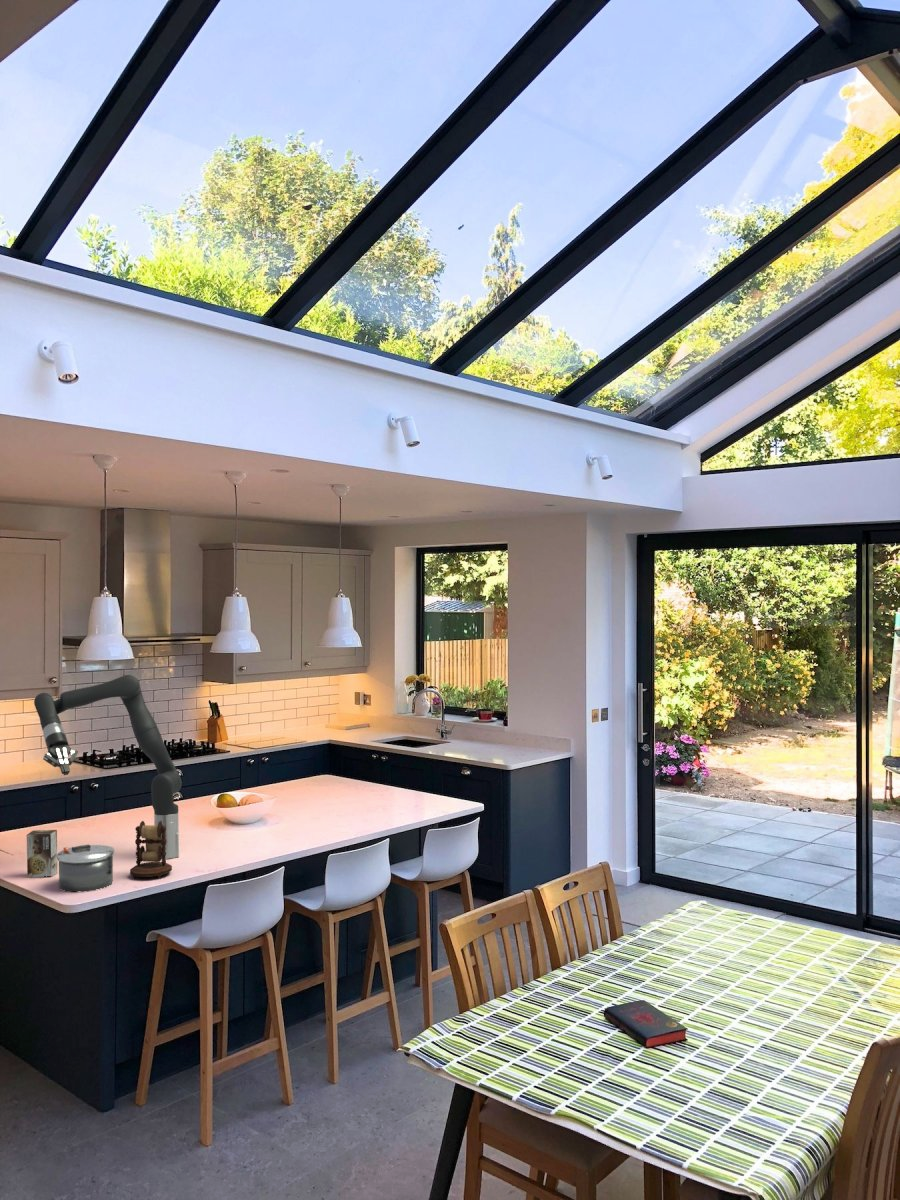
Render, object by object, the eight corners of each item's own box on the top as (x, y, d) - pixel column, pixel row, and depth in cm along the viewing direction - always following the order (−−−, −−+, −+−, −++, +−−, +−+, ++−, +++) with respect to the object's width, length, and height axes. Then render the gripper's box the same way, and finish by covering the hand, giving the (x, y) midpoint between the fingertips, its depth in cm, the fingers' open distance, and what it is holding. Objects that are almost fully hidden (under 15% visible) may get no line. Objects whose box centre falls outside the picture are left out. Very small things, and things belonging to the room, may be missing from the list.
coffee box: (58, 872, 359) (57, 829, 359) (51, 877, 352) (51, 833, 352) (33, 873, 358) (33, 829, 358) (26, 877, 352) (26, 833, 352)
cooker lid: (49, 855, 344) (49, 847, 344) (102, 846, 356) (102, 838, 356) (68, 866, 329) (68, 857, 329) (122, 856, 341) (122, 848, 341)
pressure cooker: (50, 883, 344) (50, 855, 345) (100, 873, 356) (100, 847, 356) (69, 895, 330) (69, 866, 330) (120, 885, 341) (120, 857, 341)
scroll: (177, 869, 361) (176, 816, 361) (164, 880, 346) (163, 825, 346) (138, 869, 362) (138, 816, 362) (123, 880, 347) (123, 825, 347)
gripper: (70, 742, 373) (82, 777, 363) (35, 745, 364) (45, 782, 355) (75, 729, 369) (86, 765, 359) (39, 733, 360) (50, 769, 351)
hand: (66, 773), depth 357 cm, fingers closed
